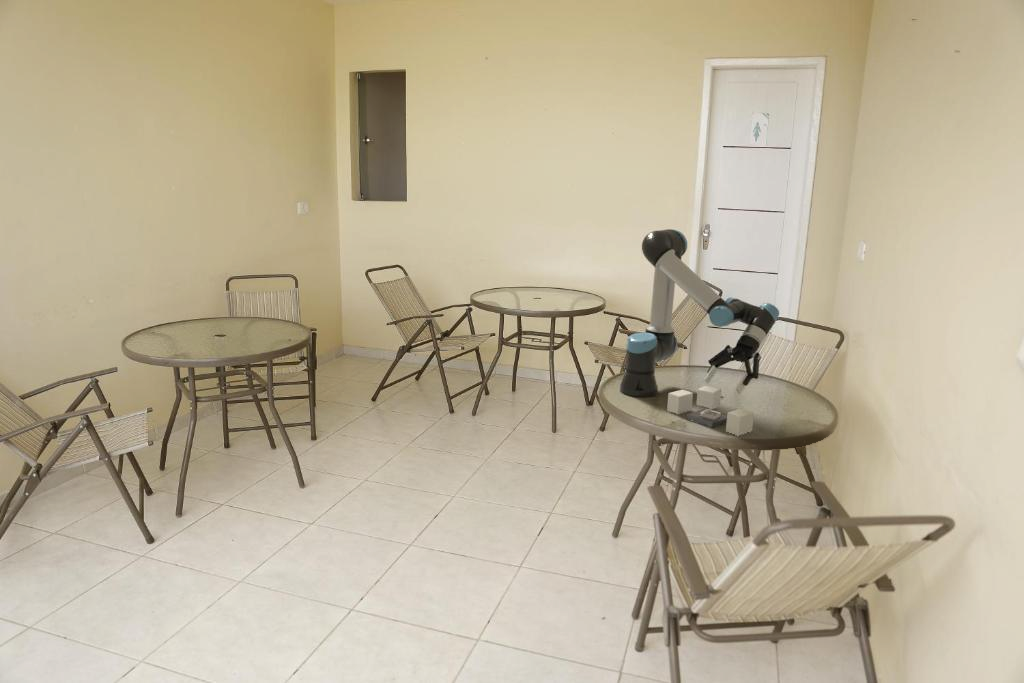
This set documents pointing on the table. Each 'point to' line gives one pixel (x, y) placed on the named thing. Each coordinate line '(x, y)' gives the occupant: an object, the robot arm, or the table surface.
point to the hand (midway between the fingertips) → (721, 386)
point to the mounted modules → (736, 420)
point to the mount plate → (707, 419)
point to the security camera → (709, 401)
